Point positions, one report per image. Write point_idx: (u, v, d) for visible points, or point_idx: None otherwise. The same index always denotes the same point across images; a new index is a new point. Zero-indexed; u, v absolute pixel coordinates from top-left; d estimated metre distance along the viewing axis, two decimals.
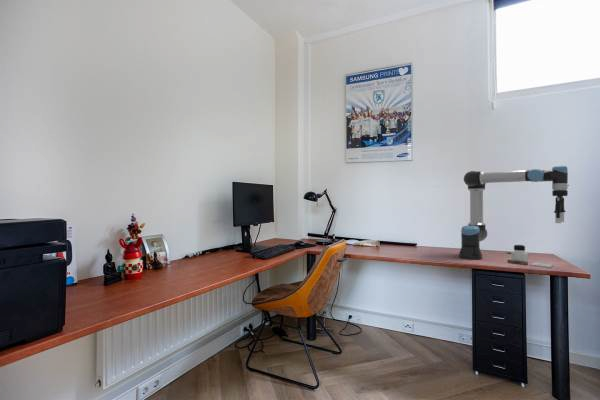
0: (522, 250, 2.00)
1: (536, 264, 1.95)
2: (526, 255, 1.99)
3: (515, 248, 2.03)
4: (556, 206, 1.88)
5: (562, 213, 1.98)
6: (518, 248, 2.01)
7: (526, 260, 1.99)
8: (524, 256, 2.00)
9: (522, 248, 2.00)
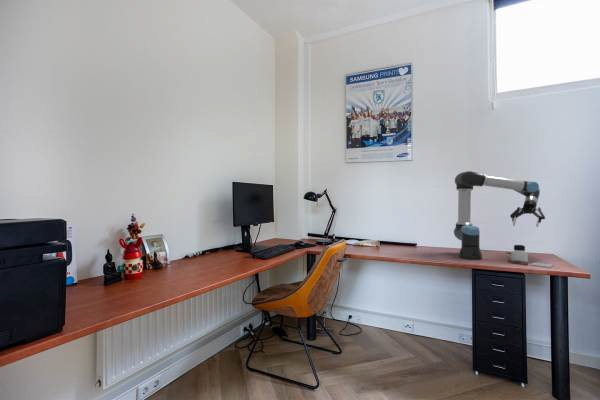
0: (522, 250, 2.00)
1: (536, 264, 1.95)
2: (526, 255, 1.99)
3: (515, 248, 2.03)
4: (542, 213, 2.09)
5: None
6: (518, 248, 2.01)
7: (526, 260, 1.99)
8: (524, 256, 2.00)
9: (522, 248, 2.00)
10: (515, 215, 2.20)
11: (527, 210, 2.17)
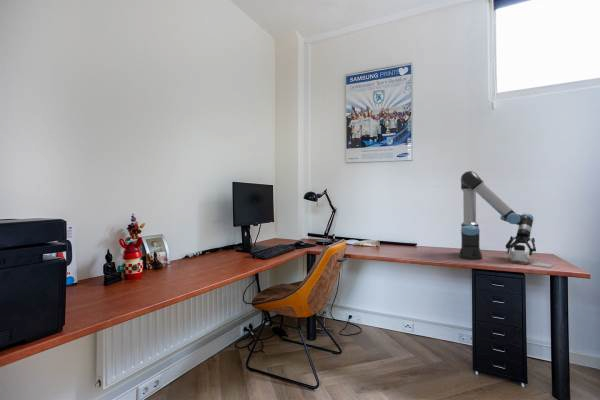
0: (522, 250, 2.00)
1: (536, 264, 1.95)
2: (526, 255, 1.99)
3: (515, 248, 2.03)
4: (534, 245, 2.00)
5: (511, 250, 2.08)
6: (518, 248, 2.01)
7: (526, 260, 1.99)
8: (524, 256, 2.00)
9: (522, 248, 2.00)
10: (510, 246, 2.08)
11: (521, 239, 2.08)
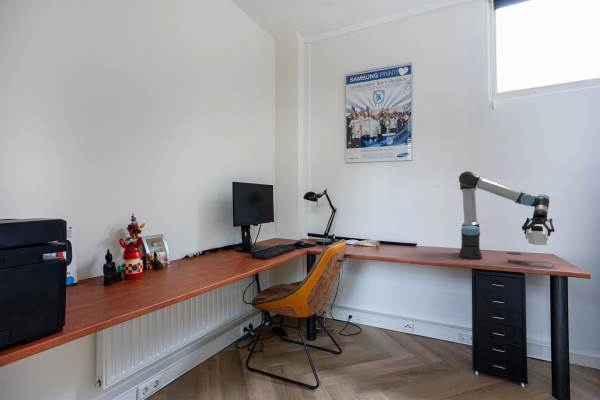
0: (540, 231, 1.93)
1: (536, 264, 1.95)
2: (544, 236, 1.92)
3: (532, 229, 1.96)
4: None
5: (528, 231, 2.01)
6: (536, 229, 1.94)
7: (544, 241, 1.92)
8: (543, 236, 1.93)
9: (540, 229, 1.93)
10: (527, 227, 2.02)
11: (538, 220, 2.01)
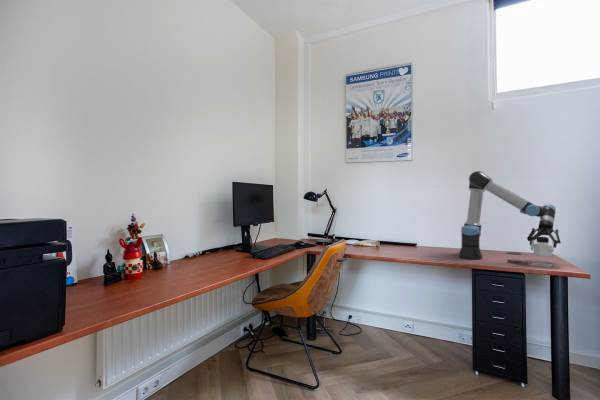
0: (546, 242, 1.91)
1: (536, 264, 1.95)
2: (550, 247, 1.90)
3: (538, 240, 1.94)
4: None
5: (533, 242, 1.99)
6: (541, 240, 1.92)
7: (550, 252, 1.90)
8: (548, 248, 1.90)
9: (546, 240, 1.91)
10: (533, 238, 1.99)
11: (543, 231, 1.99)
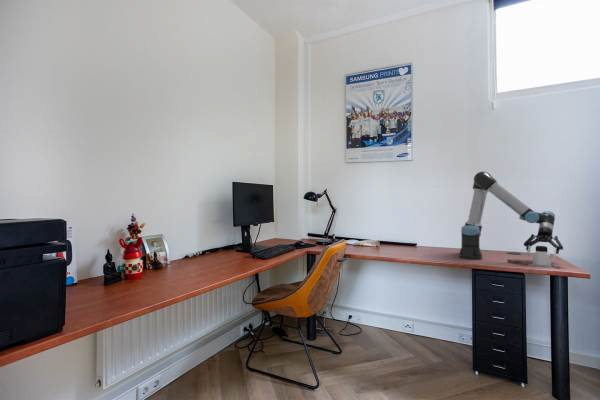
0: (544, 251, 1.92)
1: (536, 264, 1.95)
2: (549, 256, 1.91)
3: (537, 249, 1.94)
4: (560, 243, 1.91)
5: (530, 248, 2.01)
6: (540, 249, 1.93)
7: (549, 262, 1.91)
8: (547, 257, 1.91)
9: (544, 249, 1.92)
10: (529, 243, 2.01)
11: (542, 238, 1.99)
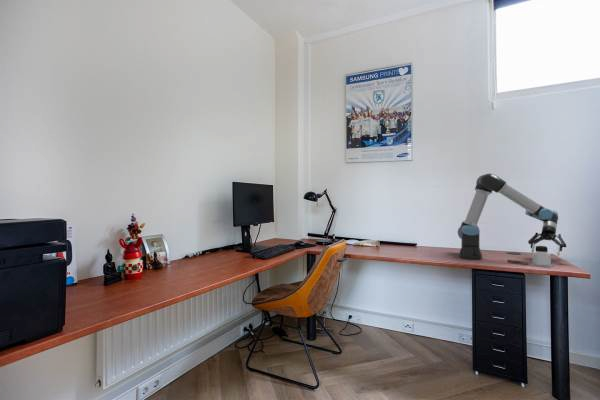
0: (545, 251, 1.92)
1: None
2: (549, 257, 1.91)
3: (537, 249, 1.94)
4: (563, 241, 2.00)
5: (534, 245, 2.09)
6: (540, 249, 1.93)
7: (549, 262, 1.91)
8: (547, 257, 1.91)
9: (545, 249, 1.92)
10: (534, 241, 2.10)
11: (546, 236, 2.07)
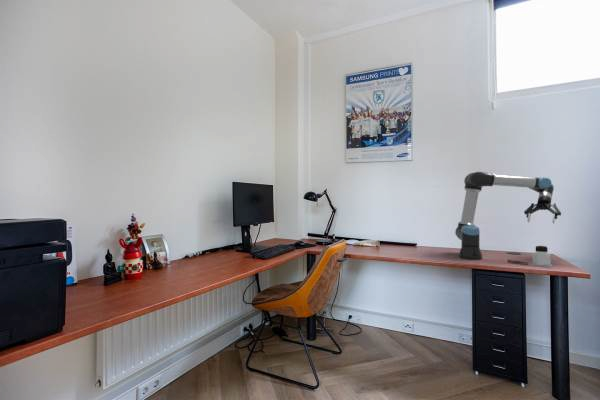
0: (545, 251, 1.92)
1: None
2: (549, 257, 1.91)
3: (537, 249, 1.94)
4: (558, 209, 2.04)
5: (530, 215, 2.14)
6: (540, 249, 1.93)
7: (549, 262, 1.91)
8: (547, 257, 1.91)
9: (545, 249, 1.92)
10: (529, 211, 2.15)
11: (542, 206, 2.12)
